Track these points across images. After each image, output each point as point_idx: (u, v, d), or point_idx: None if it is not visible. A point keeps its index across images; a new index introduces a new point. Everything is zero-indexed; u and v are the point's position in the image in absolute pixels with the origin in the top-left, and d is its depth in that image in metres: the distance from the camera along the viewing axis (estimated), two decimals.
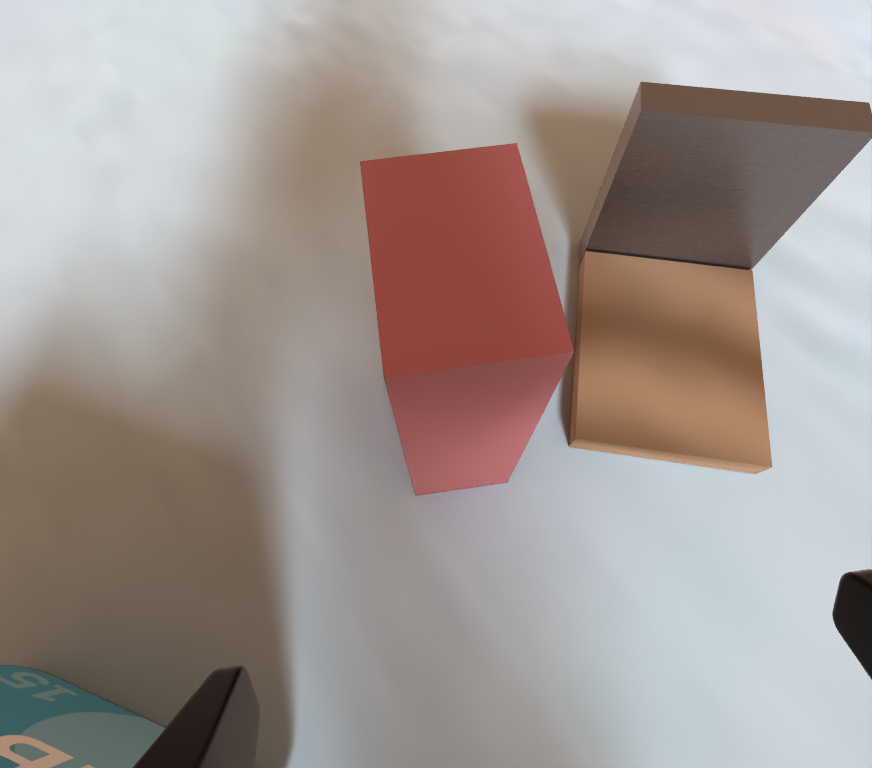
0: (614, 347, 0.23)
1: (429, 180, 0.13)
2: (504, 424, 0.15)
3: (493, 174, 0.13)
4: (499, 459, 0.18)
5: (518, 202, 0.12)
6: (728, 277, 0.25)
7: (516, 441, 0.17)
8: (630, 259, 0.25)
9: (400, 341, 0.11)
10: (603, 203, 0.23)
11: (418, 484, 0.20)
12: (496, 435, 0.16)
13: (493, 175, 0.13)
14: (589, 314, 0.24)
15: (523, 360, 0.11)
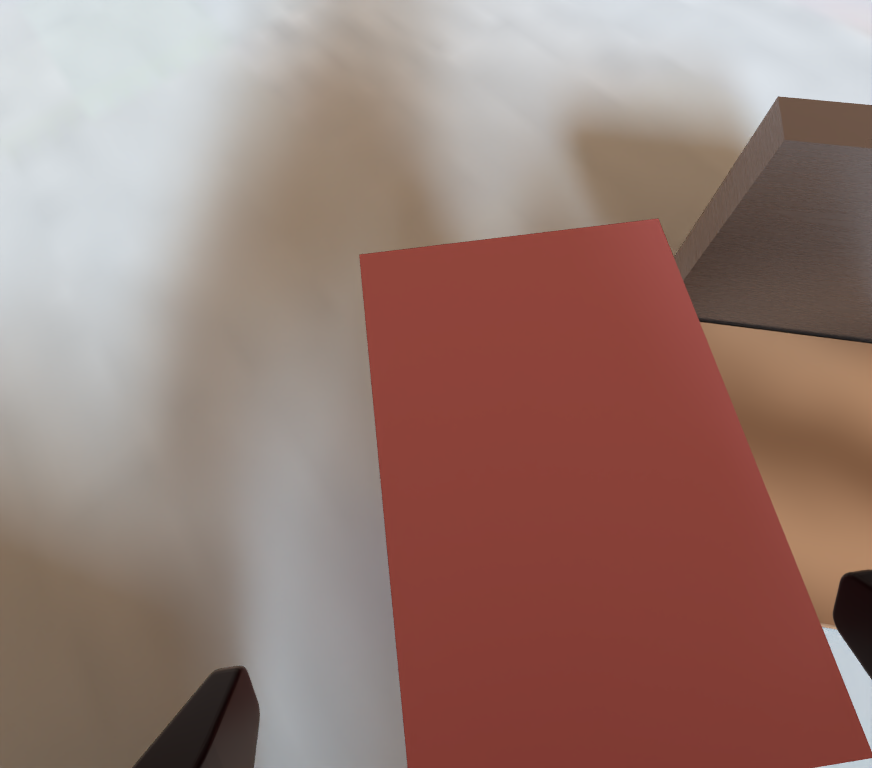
0: None
1: (496, 296, 0.06)
2: None
3: (621, 283, 0.06)
4: None
5: (680, 347, 0.06)
6: (854, 355, 0.18)
7: None
8: (719, 329, 0.19)
9: (451, 717, 0.05)
10: (696, 261, 0.16)
11: None
12: None
13: (621, 284, 0.06)
14: None
15: None
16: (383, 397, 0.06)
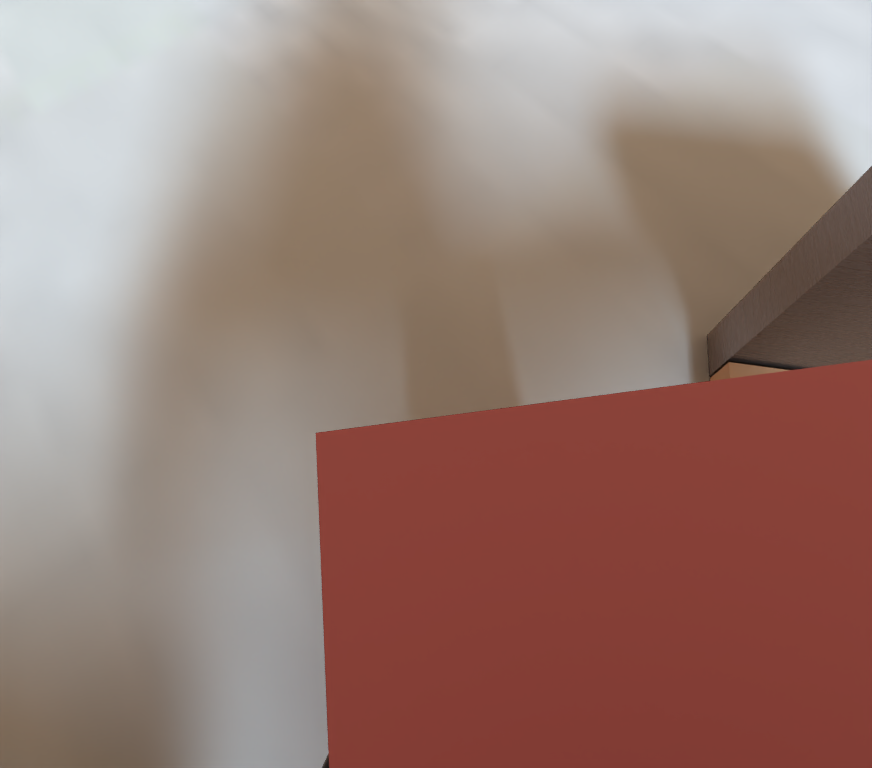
0: None
1: (658, 563, 0.03)
2: None
3: None
4: None
5: None
6: None
7: None
8: None
9: None
10: (793, 300, 0.13)
11: None
12: None
13: None
14: None
15: None
16: None
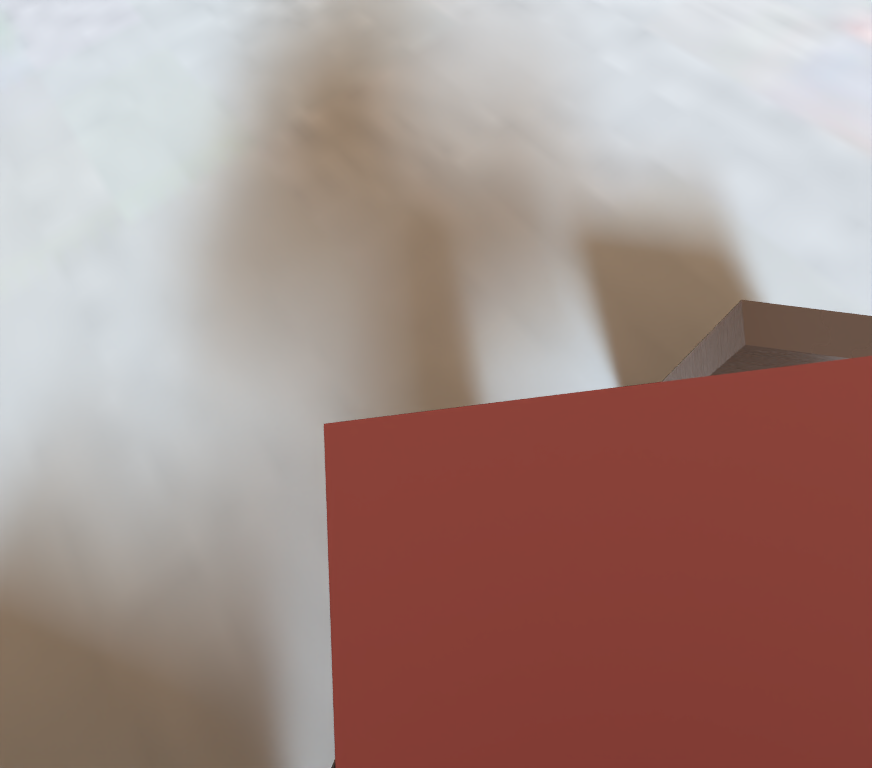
0: None
1: (654, 551, 0.03)
2: None
3: None
4: None
5: None
6: None
7: None
8: None
9: None
10: None
11: None
12: None
13: None
14: None
15: None
16: None
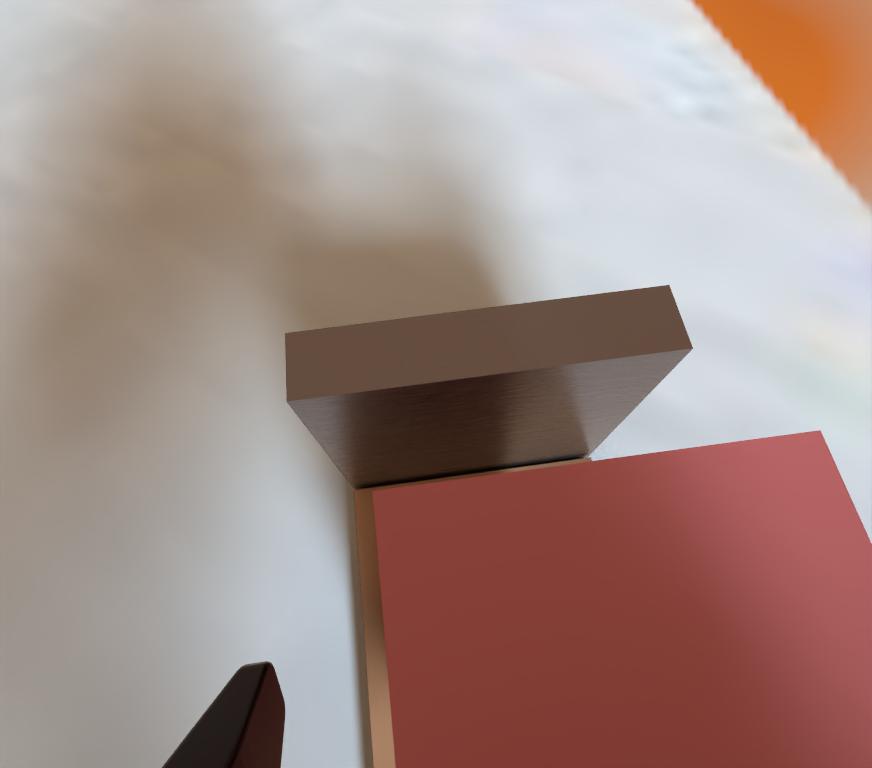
0: None
1: (585, 574, 0.04)
2: None
3: (776, 550, 0.04)
4: None
5: None
6: None
7: None
8: None
9: None
10: None
11: None
12: None
13: (779, 554, 0.04)
14: (372, 607, 0.16)
15: None
16: None
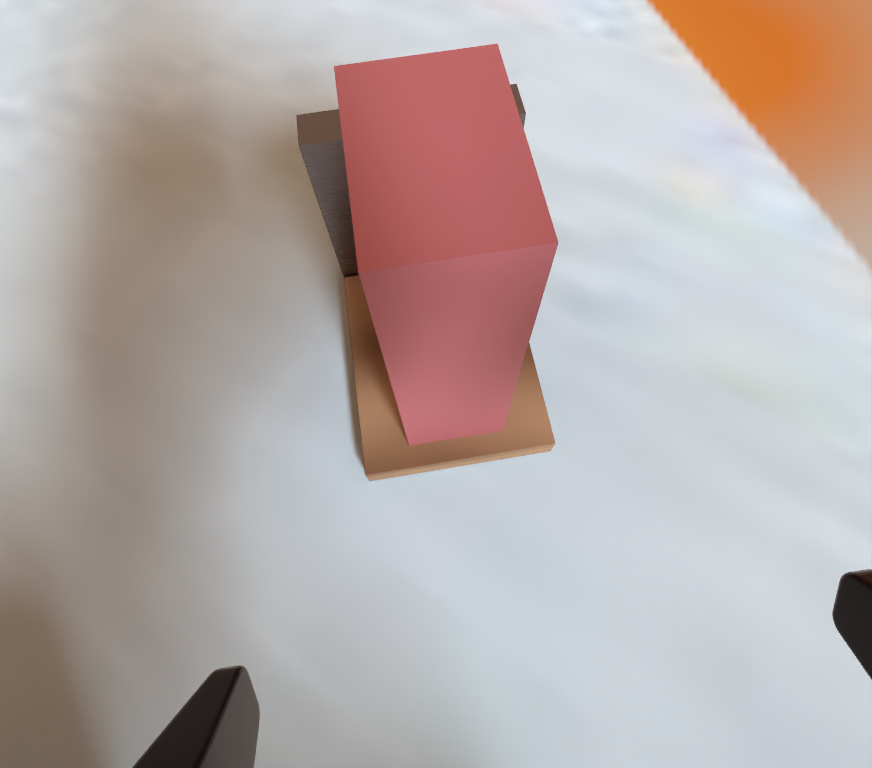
0: None
1: (406, 82, 0.12)
2: (492, 347, 0.14)
3: (473, 74, 0.12)
4: (491, 397, 0.18)
5: (499, 100, 0.12)
6: None
7: (507, 373, 0.16)
8: None
9: (375, 237, 0.10)
10: (329, 233, 0.22)
11: (410, 429, 0.20)
12: (485, 363, 0.15)
13: (473, 74, 0.12)
14: (357, 342, 0.24)
15: (504, 253, 0.10)
16: (346, 126, 0.12)
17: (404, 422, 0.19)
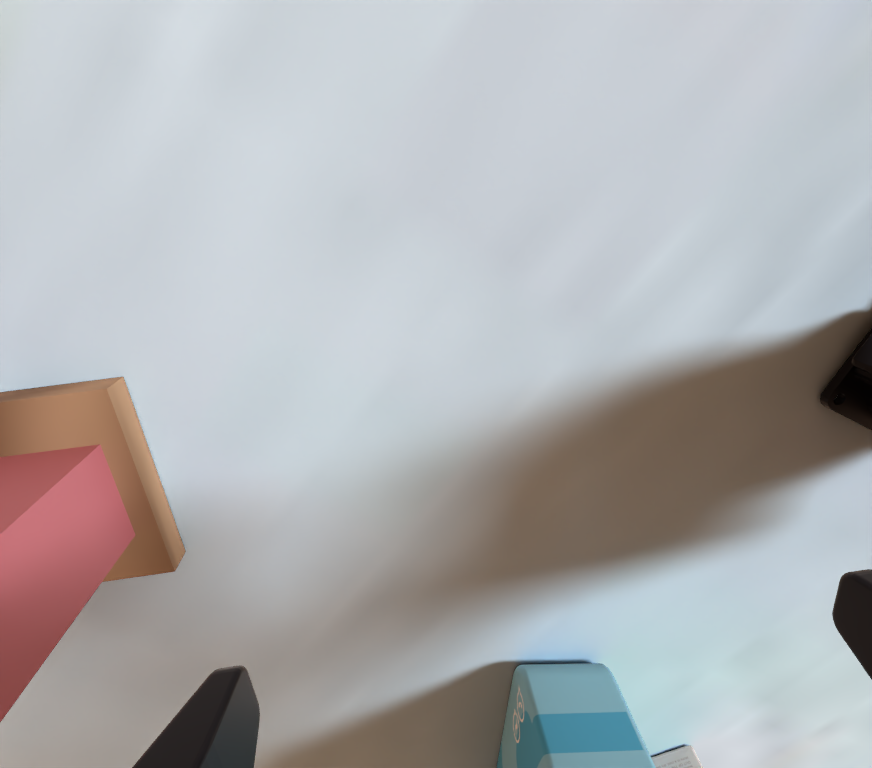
0: None
1: None
2: None
3: None
4: (32, 536, 0.15)
5: None
6: None
7: None
8: None
9: None
10: None
11: (105, 568, 0.18)
12: None
13: None
14: None
15: None
16: None
17: (92, 591, 0.17)
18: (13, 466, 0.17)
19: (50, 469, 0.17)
